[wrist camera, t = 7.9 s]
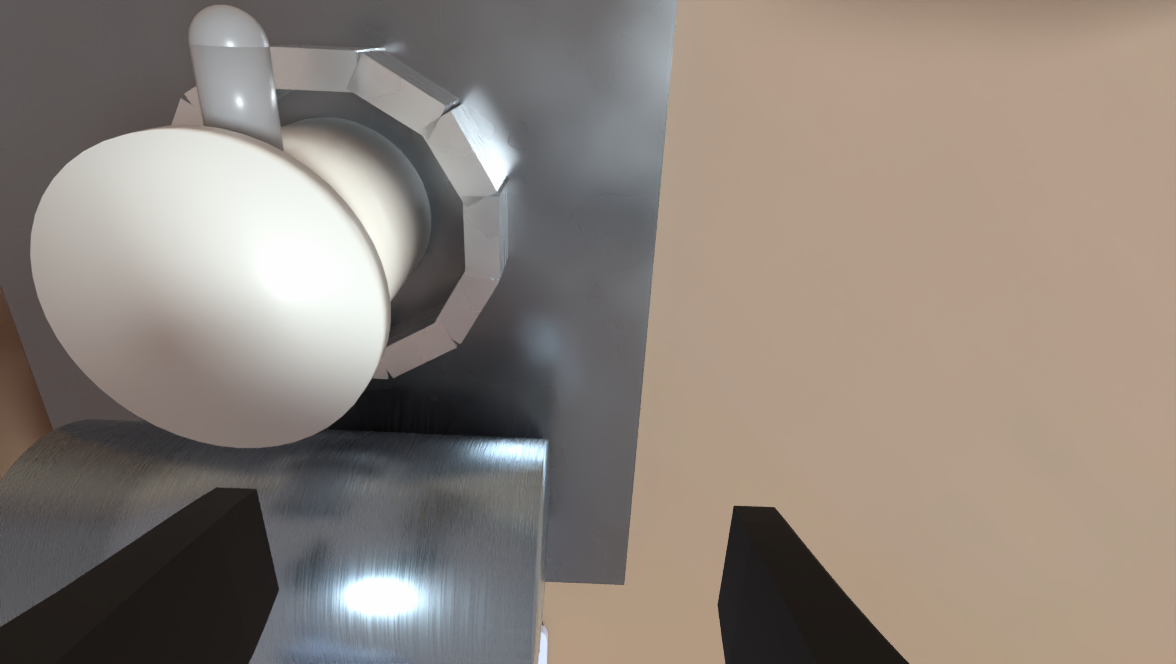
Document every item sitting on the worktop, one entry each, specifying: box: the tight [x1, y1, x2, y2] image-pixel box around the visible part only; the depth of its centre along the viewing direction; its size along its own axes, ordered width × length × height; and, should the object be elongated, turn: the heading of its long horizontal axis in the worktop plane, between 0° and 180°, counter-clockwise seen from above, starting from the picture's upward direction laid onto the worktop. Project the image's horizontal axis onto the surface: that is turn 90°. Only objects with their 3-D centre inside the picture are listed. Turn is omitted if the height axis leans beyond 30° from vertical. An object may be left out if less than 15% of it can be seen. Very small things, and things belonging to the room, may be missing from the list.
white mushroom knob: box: [30, 5, 431, 448], centre depth 13 cm, size 7×6×6 cm
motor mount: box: [0, 0, 677, 664], centre depth 15 cm, size 18×17×7 cm
